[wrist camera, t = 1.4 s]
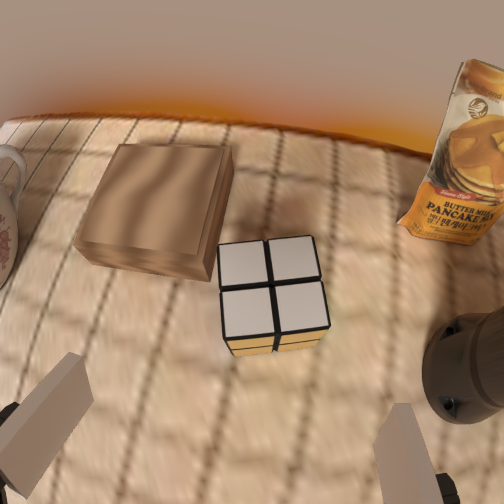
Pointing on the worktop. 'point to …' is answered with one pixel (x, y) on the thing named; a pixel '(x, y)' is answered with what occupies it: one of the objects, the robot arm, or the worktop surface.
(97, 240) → the block
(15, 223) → the chamber pot
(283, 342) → the puzzle cube
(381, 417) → the worktop surface
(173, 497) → the worktop surface
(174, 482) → the worktop surface
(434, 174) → the pancake mix bag
